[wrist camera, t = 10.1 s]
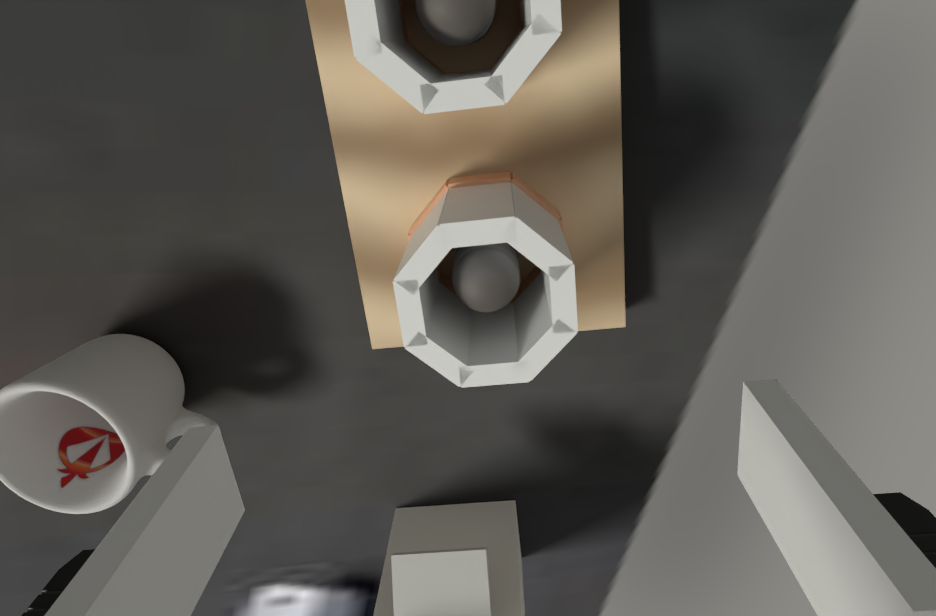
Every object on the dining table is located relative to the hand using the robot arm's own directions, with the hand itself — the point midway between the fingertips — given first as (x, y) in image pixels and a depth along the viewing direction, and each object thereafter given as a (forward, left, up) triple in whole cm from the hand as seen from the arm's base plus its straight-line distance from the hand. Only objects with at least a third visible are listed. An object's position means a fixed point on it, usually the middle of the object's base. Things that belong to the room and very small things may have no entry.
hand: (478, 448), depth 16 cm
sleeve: (0, 0, -18) cm, 18 cm away
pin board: (-5, 0, -20) cm, 21 cm away
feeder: (+19, -4, -20) cm, 28 cm away
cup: (+8, -21, -20) cm, 30 cm away
